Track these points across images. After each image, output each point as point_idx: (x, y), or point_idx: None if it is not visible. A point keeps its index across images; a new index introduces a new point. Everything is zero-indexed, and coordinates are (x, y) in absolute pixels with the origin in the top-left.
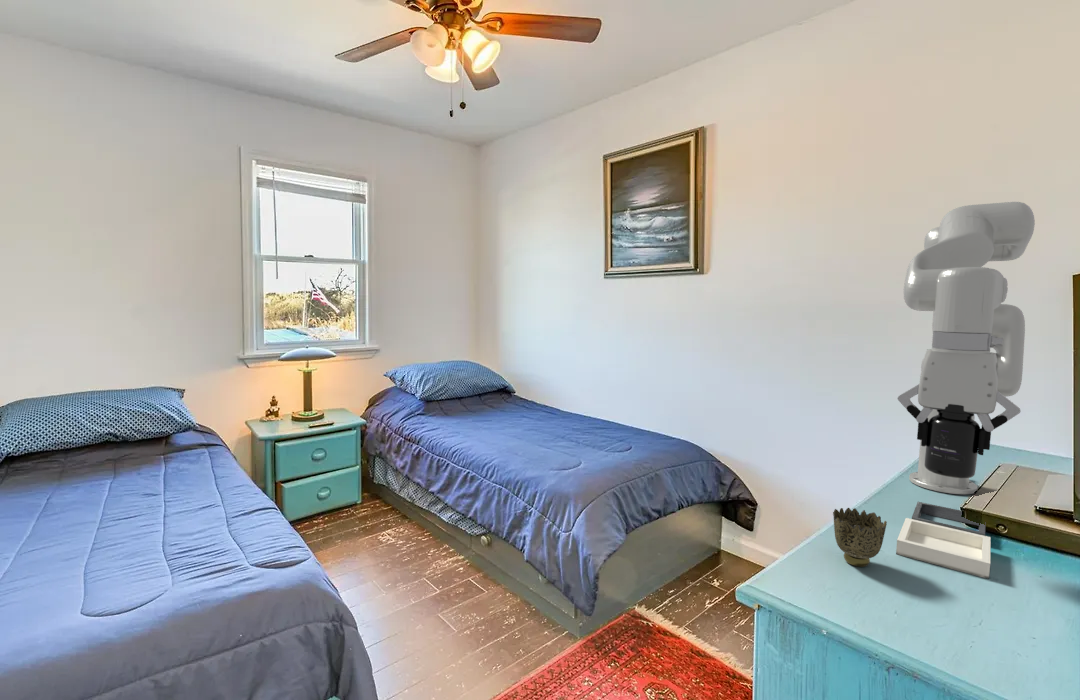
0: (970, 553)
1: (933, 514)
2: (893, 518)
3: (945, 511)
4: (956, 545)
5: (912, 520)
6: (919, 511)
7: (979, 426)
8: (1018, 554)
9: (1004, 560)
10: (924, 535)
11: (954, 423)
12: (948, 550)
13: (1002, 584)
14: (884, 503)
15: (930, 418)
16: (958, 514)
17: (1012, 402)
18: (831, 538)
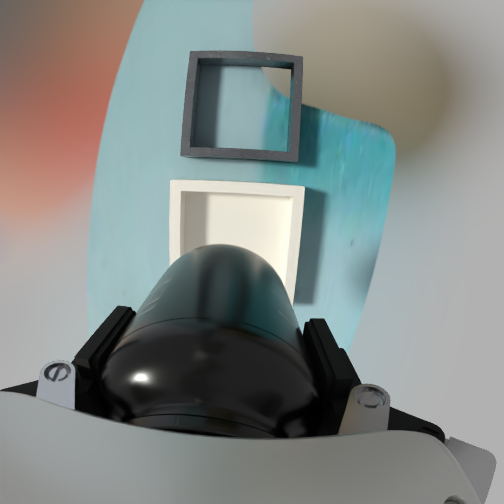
0: (272, 227)
1: (220, 63)
2: (156, 127)
3: (238, 59)
4: (253, 205)
5: (181, 187)
6: (192, 105)
7: (318, 431)
8: (338, 170)
9: (316, 211)
10: (206, 192)
11: None
12: (242, 238)
13: (302, 304)
14: (142, 60)
15: (101, 413)
16: (259, 61)
17: (486, 495)
18: (99, 291)
